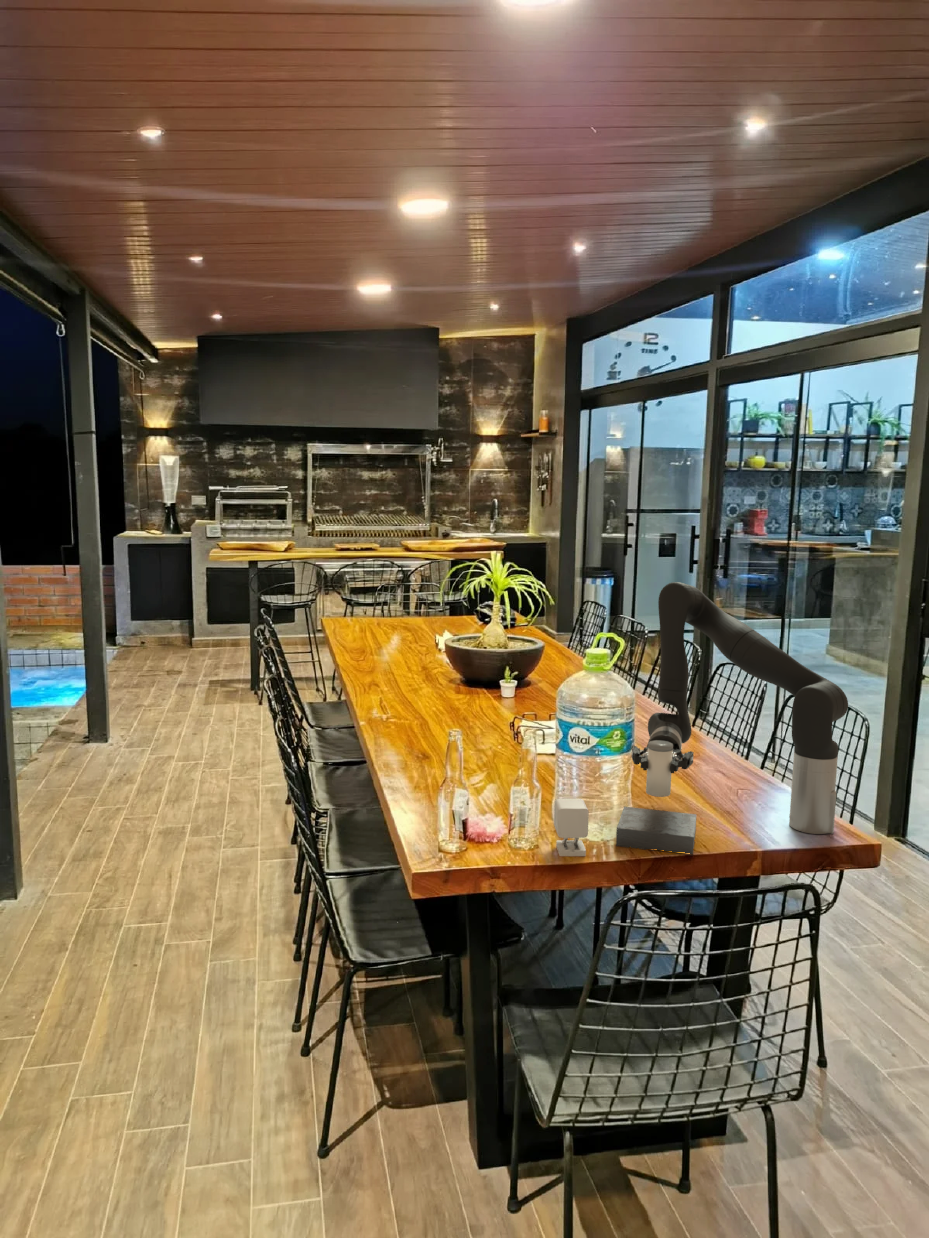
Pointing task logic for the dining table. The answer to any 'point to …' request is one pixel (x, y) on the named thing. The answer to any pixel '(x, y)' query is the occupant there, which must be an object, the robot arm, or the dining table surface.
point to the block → (656, 830)
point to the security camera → (571, 826)
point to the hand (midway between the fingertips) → (658, 767)
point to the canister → (659, 768)
